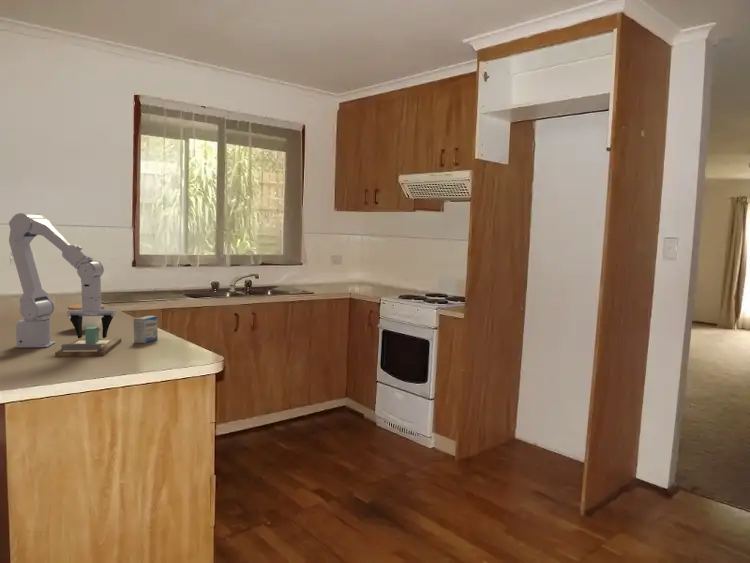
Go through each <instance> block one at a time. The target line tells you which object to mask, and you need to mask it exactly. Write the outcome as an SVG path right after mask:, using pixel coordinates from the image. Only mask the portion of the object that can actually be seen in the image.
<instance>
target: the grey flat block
mask: <svg viewBox="0 0 750 563" xmlns="http://www.w3.org/2000/svg"><path fill="white" fill-rule="evenodd" d="M104 346H105V344H71V343H63V344H62V345H61V349H62V350H63V352H95V351H99V350H100V349H101V348H103V347H104Z"/></svg>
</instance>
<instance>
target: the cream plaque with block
mask: <svg viewBox="0 0 750 563" xmlns="http://www.w3.org/2000/svg"><path fill="white" fill-rule="evenodd" d="M99 328H100V327H99V326H98V327H87V328H86V329H85V330H84V331H85V332H84V333H85V334H84V335H85V336H84V337H85V338H84V339H85V340H86V341H78V342H76V343H75V344H105V345H107V344H108V343H109V342H111V340H99V339H100V338H99V337H100V334H99V333H100V329H99Z"/></svg>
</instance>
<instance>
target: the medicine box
mask: <svg viewBox="0 0 750 563" xmlns="http://www.w3.org/2000/svg"><path fill="white" fill-rule="evenodd" d="M158 338H159V337H158V316H156V315H145V316H141V317H136V318H133V342H134V343H136V344H147V342H148V343H150V341H151V342H153V340H154V341H157V340H158Z"/></svg>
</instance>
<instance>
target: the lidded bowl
mask: <svg viewBox="0 0 750 563" xmlns="http://www.w3.org/2000/svg"><path fill="white" fill-rule="evenodd" d="M101 309H104V310H105V305H104V304H102V303H101ZM68 310H82V303H79V304H78V303H77V304H70V305H69V306H67V311H68ZM102 317H104V316H83V318H82V331H85V329H86V328H87V327H99V326H100V325H102V320H101V318H102ZM70 318H71V317H68V319H69V322H70V323H71V326H73V324H72V322H71V321H70Z"/></svg>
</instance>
